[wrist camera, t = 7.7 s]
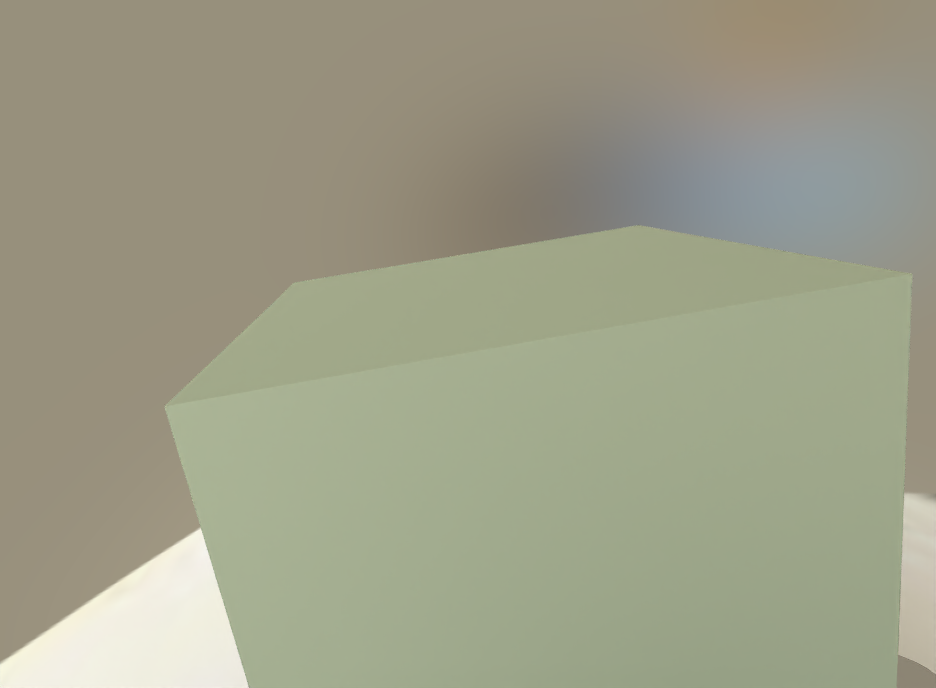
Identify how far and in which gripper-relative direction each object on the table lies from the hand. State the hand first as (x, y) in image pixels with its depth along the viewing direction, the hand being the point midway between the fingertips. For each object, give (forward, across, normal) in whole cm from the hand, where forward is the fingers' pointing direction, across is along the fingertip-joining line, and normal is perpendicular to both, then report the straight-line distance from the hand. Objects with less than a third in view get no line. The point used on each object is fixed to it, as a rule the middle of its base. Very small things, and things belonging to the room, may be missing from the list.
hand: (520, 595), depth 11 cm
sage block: (-3, 0, +8) cm, 8 cm away
